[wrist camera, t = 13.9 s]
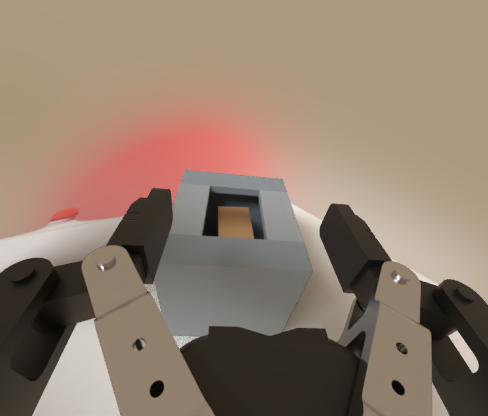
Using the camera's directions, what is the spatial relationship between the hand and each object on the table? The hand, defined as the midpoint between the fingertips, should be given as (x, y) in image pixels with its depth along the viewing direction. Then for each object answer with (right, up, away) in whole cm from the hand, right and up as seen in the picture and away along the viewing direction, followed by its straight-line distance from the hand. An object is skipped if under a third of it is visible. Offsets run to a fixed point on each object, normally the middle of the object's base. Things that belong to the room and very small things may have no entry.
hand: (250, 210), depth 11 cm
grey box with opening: (-3, -11, +23) cm, 25 cm away
